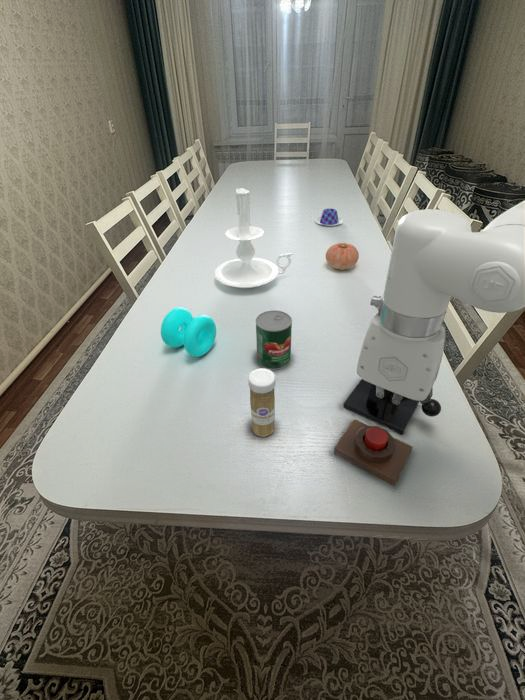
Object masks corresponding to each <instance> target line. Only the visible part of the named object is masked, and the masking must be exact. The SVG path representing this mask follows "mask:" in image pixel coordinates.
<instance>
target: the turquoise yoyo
mask: <svg viewBox="0 0 525 700" xmlns="http://www.w3.org/2000/svg"><path fill="white" fill-rule="evenodd" d="M216 336H217V326H216V322H215V320H214V319H213V318H212V317H211V316H209V315H205V314H202V315H198V316H195V317H194V316H193V314H192V313H191V311H190V310H189V309H187V308H185V307H181V306H178V307H174V308H172V309H171V310H170V311H169V312H167V313H166V315H165V316H164V318H163V319H162V323H161V326H160V337H161V340H162V341H163V344H165V345H166V346H168V347H169V348H172V349H173V348H174V349H175V348H180V347H182V346H183V347H184V350H185V351H186V353H187V354H189V355H190V356H192V357H196V358H197V357H198V358H199V357H201V356H202V357H203V356H204V355H206V354H207V353H208V352H209V351H210V349H212V347H213V345H214V343H215V339H216Z"/></svg>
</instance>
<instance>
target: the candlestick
mask: <svg viewBox="0 0 525 700" xmlns="http://www.w3.org/2000/svg"><path fill="white" fill-rule="evenodd" d="M250 198H251V197H250V190H248V189H246V188H244V187H240V188H236V189H235V201H236V206H237V207H236V208H237V215H238V225H239V226H234V227H232V228H229V229H228V230H226V231H225V232H224V234H225V237H227V238H228V239H231V240H235V241H238V245H237V247H236V250H235V254H236V256H237V258H235V259H231V260H226V261H224V262H223V263H221V264H219V265H217V267H216V268H215V269H214V271H213V276H214V278H215V279H216V280H217V282H219V283H221V284H223V285H225V286H228V287H233V288H237V289H253V288H258V287H260V286H264V285H266V284H269V283H271V282H272V281H274V280H275V279H277V278H278V276H279V275H283V274H285V272H286V270H287V268H289V267H290V265H291V263H292V261H291V256H293V252H289V253H282V254H281V253H280V254H279V255H278V256H277V257H276V260H275V263H276V264H275V263H274V262H272V261H270V260H267V259H263V258H259V257H255V254H256V249H255V247H254V245H253V244H252V242H251V241H252V240H255V239H259V238H261V237H262V236H264V233H265V231H264V229H262V228H261V227H258V226H253V225H251V199H250ZM281 258H287V260H288V262H287V263H286V264H284V265H281V264H280V263H279V260H280V259H281ZM280 269H282V271H280Z"/></svg>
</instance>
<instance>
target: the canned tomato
mask: <svg viewBox="0 0 525 700" xmlns="http://www.w3.org/2000/svg"><path fill="white" fill-rule="evenodd" d="M292 323H293V319H292V316H291V315H290V314H288V313H287V312H285V311H282V310H267V311H266V310H265V311H264V312H261V313H260V314H258V315H257V316H256V318H255V334H256V335H255V338H256V361H257V364H258V365H259V366H260V367H261V368H264V369H268V370H271V371H277V370H278V371H279V370H282V369H284V368H286V367H288V366H289V365H290V363H291V358H292V357H291V354H292V353H291V352H292V330H293V329H292V328H293V326H292V325H293V324H292Z"/></svg>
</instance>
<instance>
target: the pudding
mask: <svg viewBox="0 0 525 700" xmlns="http://www.w3.org/2000/svg"><path fill="white" fill-rule="evenodd" d="M338 215H339V214H338V210H337V209H336V208H324V209H323V210H322V213H321V216H320V217H319V216H318V217H317V218H315V220H314V222H315V223H316V224H318V225H321V226H328V227H331V226H332V227H334V226H338V225H342V224H343V223H344V220H343V219H342V218H340V217H339V216H338Z"/></svg>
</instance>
